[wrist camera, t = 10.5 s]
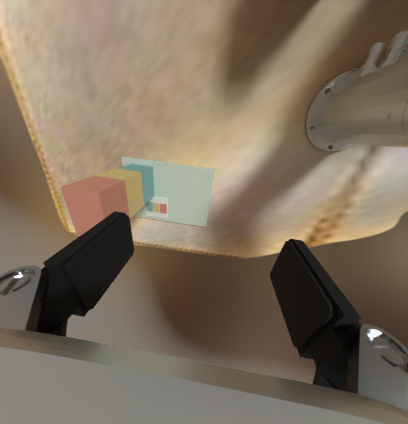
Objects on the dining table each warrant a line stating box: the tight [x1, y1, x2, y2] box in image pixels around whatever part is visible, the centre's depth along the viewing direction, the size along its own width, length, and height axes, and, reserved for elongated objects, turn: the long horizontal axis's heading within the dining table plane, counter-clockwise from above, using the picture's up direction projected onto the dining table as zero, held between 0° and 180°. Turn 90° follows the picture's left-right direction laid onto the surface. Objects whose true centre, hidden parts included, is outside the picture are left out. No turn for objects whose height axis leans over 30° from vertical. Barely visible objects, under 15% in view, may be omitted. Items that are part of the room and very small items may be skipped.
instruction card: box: [145, 197, 168, 219], centre depth 40 cm, size 6×6×1 cm
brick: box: [61, 176, 130, 235], centre depth 23 cm, size 8×5×6 cm, turn 173°
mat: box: [121, 156, 215, 227], centre depth 38 cm, size 16×22×1 cm
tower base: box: [96, 164, 154, 218], centre depth 31 cm, size 8×5×12 cm, turn 173°
